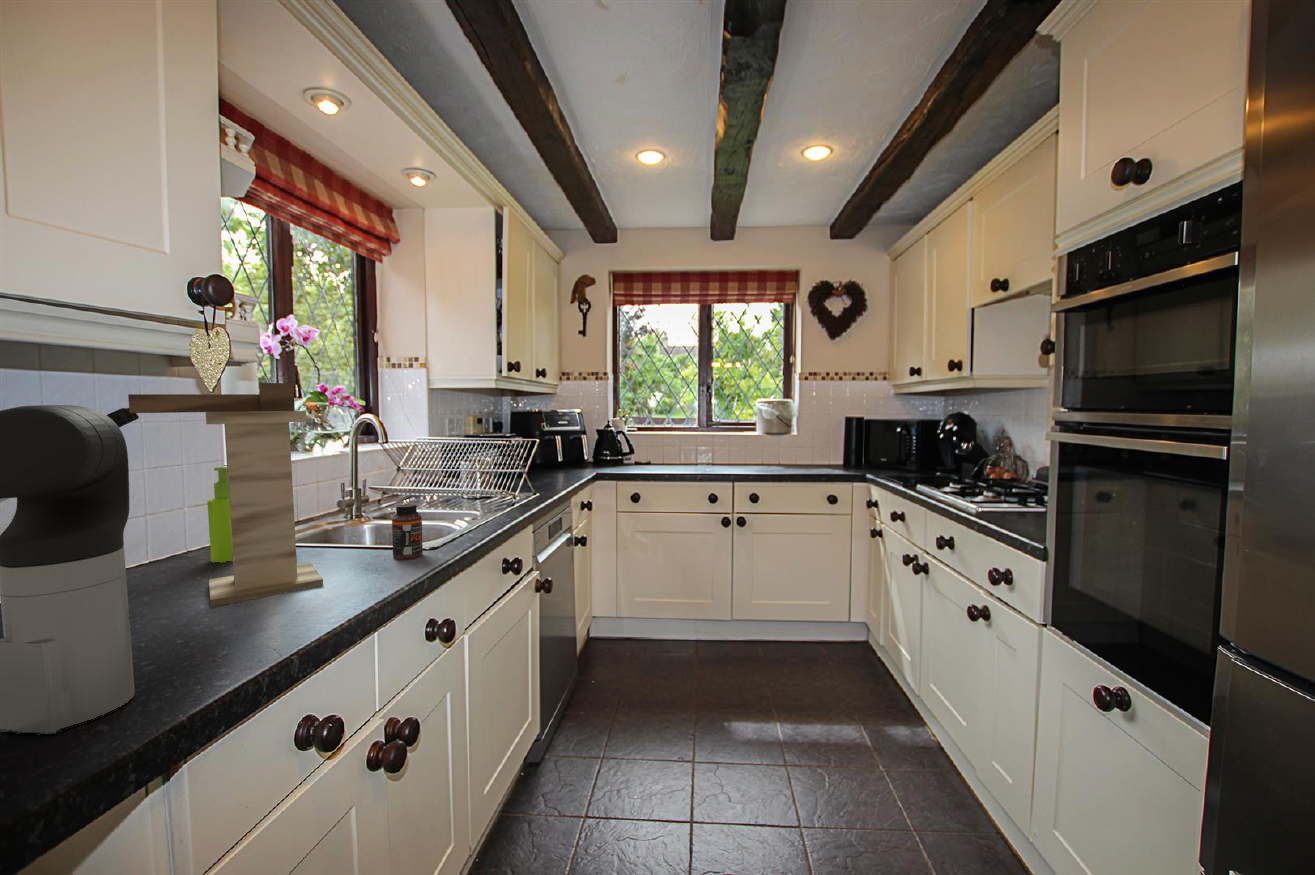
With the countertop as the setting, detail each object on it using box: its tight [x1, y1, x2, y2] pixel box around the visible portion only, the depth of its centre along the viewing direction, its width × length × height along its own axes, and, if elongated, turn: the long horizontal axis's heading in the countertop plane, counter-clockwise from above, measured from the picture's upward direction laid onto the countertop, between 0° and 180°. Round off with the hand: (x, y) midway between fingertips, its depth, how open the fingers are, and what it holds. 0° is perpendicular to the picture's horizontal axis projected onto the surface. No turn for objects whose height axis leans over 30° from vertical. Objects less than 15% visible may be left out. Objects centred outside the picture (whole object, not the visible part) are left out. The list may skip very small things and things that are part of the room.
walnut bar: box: [127, 382, 296, 414], centre depth 95 cm, size 5×22×5 cm, turn 126°
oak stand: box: [205, 409, 324, 608], centre depth 100 cm, size 14×16×32 cm
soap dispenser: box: [207, 466, 233, 563], centre depth 118 cm, size 6×7×20 cm
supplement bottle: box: [391, 503, 424, 560], centre depth 119 cm, size 6×6×11 cm
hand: (132, 412), depth 88 cm, fingers open, 8 cm apart
